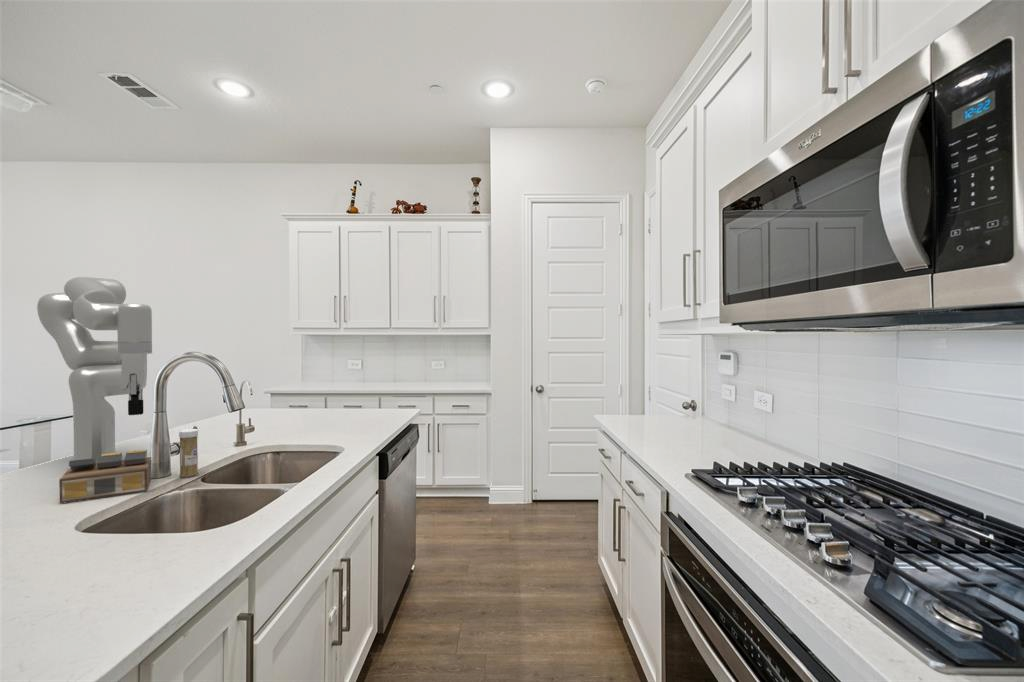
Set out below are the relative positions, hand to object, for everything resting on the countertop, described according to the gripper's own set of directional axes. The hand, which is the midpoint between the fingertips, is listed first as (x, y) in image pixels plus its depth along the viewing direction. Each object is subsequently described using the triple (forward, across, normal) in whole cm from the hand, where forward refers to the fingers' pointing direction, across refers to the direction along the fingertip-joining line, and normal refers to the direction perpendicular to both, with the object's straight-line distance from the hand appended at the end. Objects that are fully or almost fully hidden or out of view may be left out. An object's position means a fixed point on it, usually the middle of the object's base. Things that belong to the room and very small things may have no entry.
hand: (135, 414), depth 133 cm
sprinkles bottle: (+19, -1, +12) cm, 23 cm away
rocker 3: (+12, +2, 0) cm, 12 cm away
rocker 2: (+12, +2, -5) cm, 13 cm away
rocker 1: (+12, +2, -11) cm, 16 cm away
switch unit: (+19, +4, -5) cm, 20 cm away
